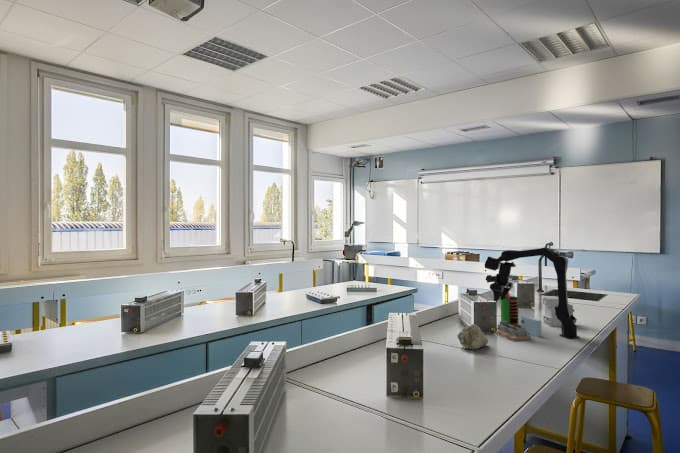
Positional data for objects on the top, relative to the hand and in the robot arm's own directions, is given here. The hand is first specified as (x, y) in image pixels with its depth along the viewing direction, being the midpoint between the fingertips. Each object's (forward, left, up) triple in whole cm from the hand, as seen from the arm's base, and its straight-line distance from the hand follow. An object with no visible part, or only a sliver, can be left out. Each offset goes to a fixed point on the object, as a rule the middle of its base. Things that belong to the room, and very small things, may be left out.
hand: (498, 300), depth 219 cm
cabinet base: (-13, +3, -15) cm, 20 cm away
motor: (+4, -9, -15) cm, 18 cm away
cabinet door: (-14, -9, -15) cm, 23 cm away
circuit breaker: (-2, -36, -15) cm, 39 cm away
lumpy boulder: (-26, +31, -15) cm, 43 cm away
